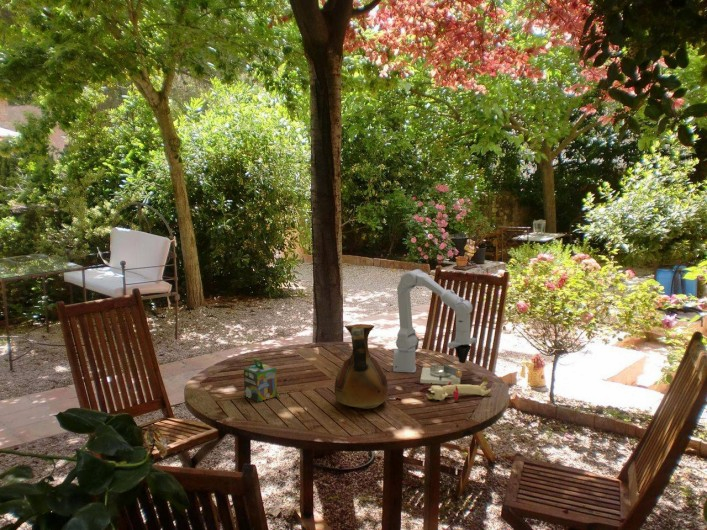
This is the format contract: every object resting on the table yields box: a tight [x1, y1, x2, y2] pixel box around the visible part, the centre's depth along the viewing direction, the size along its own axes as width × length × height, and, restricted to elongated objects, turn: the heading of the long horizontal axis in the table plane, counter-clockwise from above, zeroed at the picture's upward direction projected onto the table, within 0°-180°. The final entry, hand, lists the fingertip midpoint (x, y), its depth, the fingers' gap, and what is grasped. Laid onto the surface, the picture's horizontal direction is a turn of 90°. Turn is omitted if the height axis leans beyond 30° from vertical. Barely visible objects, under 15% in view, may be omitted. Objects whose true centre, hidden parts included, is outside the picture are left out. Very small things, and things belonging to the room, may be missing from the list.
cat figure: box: [425, 375, 492, 402], centre depth 230 cm, size 10×9×25 cm
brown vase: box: [334, 323, 389, 409], centre depth 221 cm, size 20×20×30 cm
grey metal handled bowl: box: [429, 364, 463, 379], centre depth 249 cm, size 18×9×5 cm, turn 28°
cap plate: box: [419, 366, 461, 385], centre depth 253 cm, size 16×16×2 cm
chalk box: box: [243, 358, 278, 403], centre depth 229 cm, size 9×9×15 cm
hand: (462, 362), depth 249 cm, fingers closed
